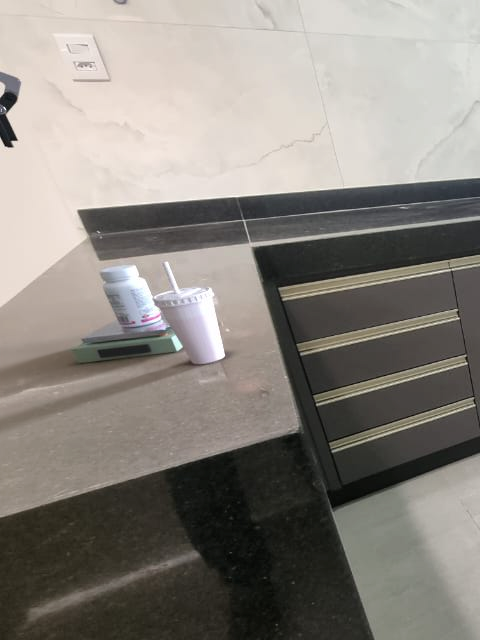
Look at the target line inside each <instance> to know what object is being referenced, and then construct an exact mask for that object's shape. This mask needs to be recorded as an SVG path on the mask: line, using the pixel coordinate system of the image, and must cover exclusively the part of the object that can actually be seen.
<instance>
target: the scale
mask: <svg viewBox="0 0 480 640" xmlns="http://www.w3.org/2000/svg"><path fill="white" fill-rule="evenodd" d="M182 349H184V348H183V346H182V345H181V343H180V341H179V340H178V338H177V336H176V335H175V333H174V332H173V330H172V331H170V332H169V333H167V334H165V335H156V336H147V337H138V338H129V339H120V340H111V341H102V342H93V343H83V342H82V343H81V344H79V345H77V346H75V347H73V348H71V351H72V354H73V355H74V357H75V359H76V361H77V363H78V364H84V363H85V364H86V363H93V362H102V361H110V360H118V359H125V358H127V359H128V358H134V357H142V356H143V357H144V356H152V355H159V354H167V353H169V354H170V353H177V352H179V351H180V350H182Z"/></svg>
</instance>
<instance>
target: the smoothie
mask: <svg viewBox="0 0 480 640" xmlns="http://www.w3.org/2000/svg"><path fill="white" fill-rule="evenodd" d="M161 264H162V266H163V269H164V271H165V273H166V277H167V279H168V281H169V283H170V286H171V288H172V290H167V291H165V292H161V293H157V294H155V295H154V296H152V297H153V298H152V300H153V302H154V305H155V306H156V307H157V308H158V309H159V311H160V313H162V314H163V315H164V317H165V319H166V320H167V322H168V323H169V325H170V327H171V328H172V330H173V332H174V333H175V335H176V336H177V338H178V340H179V341H180V343H181V345H182V346H183V348H182V349H184V351H185V353H186V355H187V356H188V358H189V360H190V361H191V363H192V364H193V365H205V364H210V363H214V362H218V361H219V360H221V359H223V358H224V357H226V355H225V350H224V346H223V341H222V336H221V333H220V328H219V322H218V317H217V314H216V310H215V305H214V301H213V300H214V299H213V297H214V296H215V293H214V292H213V290H212V287H209V286H190V287H182V288H179V287H178V285H177V282H176V280H175V277H174V275H173V272H172V270H171V267H170V264H169V262H168V261H162V262H161Z"/></svg>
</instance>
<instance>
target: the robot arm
mask: <svg viewBox="0 0 480 640" xmlns="http://www.w3.org/2000/svg"><path fill="white" fill-rule="evenodd" d="M0 83H2V84H3V85H4V90H3V94H2V95H1V96H0V140H1V142H2V144H3V146H4V148H8V149H9V148H10V149H13V148H15V146H14V144H13V142H19V139H18V137H17V135H16V133H15V131H14V129H13V126H12V124H11V122H10V120H9V118H8V113H9V112H10V111H11V109H13V107H14V106H15V105H16V103H17V102H19V96H20V92H21V87H22V81H21V79H20V78H19V77H17V76H14V75H11V74H8V73H5V72H2V71H0Z"/></svg>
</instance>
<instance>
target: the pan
mask: <svg viewBox="0 0 480 640" xmlns="http://www.w3.org/2000/svg"><path fill="white" fill-rule="evenodd" d="M159 313H160V315H161V319H160V320H158V321H157V322H154V323H151V324H148V325H143V326H137V327H129V328H126V327H122V326H121V325H120V324H119V322H118V320H117V319H115V320H113V321H112V322H109V323H108V324H105V325H104V326H102V327H101V328H98V329H97V330H95V331H93V332H91V333H88V334H87V335H85V336H83V337H81V338H80V340H81V342H82V343H93V342H102V341H111V340H120V339H129V338H138V337H147V336H156V335H165V334H167V333H169V332H170V331H172V328H171V327H170V325H169V323H168V322H167V320H166V319H165V317H164V315H163V314H162V312H159Z"/></svg>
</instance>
